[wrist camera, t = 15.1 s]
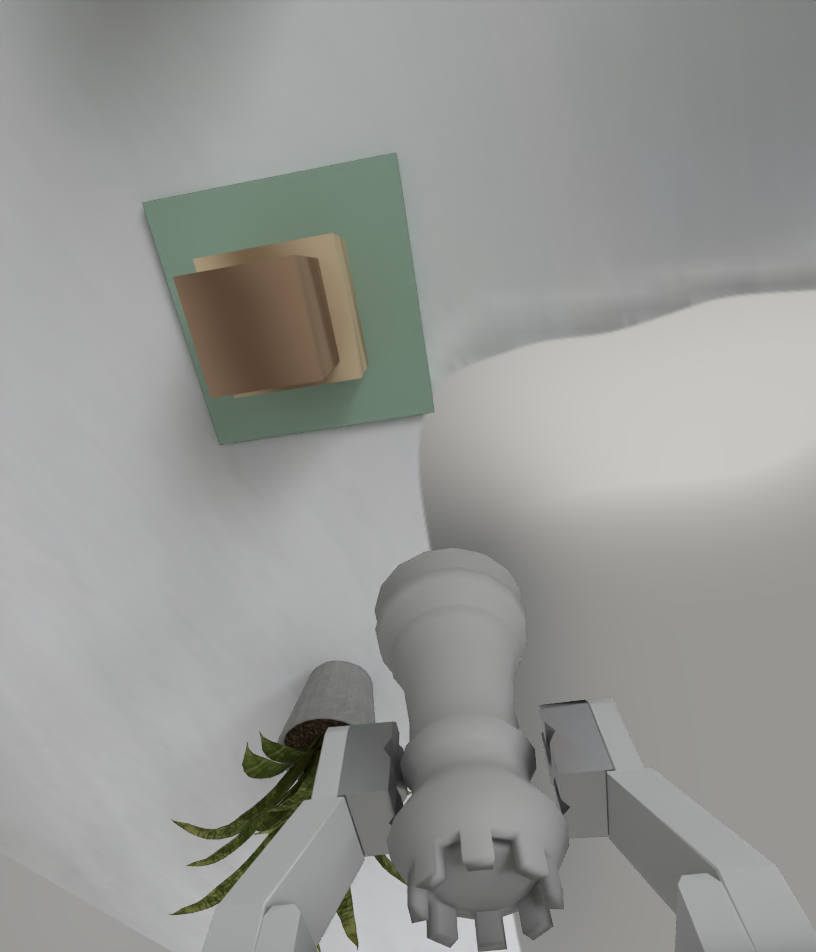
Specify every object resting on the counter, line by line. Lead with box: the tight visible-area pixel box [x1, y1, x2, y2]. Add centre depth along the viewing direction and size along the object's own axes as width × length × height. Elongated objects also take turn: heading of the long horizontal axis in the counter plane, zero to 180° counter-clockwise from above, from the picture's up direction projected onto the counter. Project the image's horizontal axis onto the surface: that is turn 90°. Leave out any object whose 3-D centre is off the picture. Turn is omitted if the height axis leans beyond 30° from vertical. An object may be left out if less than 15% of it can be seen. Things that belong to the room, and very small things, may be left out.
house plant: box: [169, 661, 412, 952], centre depth 33 cm, size 14×14×16 cm
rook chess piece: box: [375, 548, 569, 952], centre depth 12 cm, size 4×4×8 cm
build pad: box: [142, 153, 434, 445], centre depth 29 cm, size 14×14×1 cm
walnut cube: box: [173, 255, 340, 398], centre depth 23 cm, size 5×5×5 cm
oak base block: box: [193, 233, 369, 398], centre depth 27 cm, size 7×7×4 cm
